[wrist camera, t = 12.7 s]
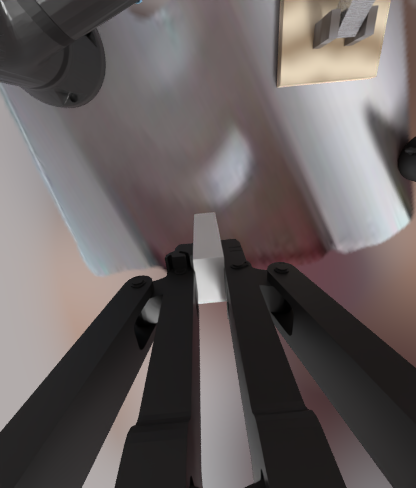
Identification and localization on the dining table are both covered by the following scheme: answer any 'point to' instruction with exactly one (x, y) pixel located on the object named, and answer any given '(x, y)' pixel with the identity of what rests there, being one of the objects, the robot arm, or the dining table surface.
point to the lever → (352, 16)
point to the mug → (408, 161)
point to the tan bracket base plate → (327, 43)
